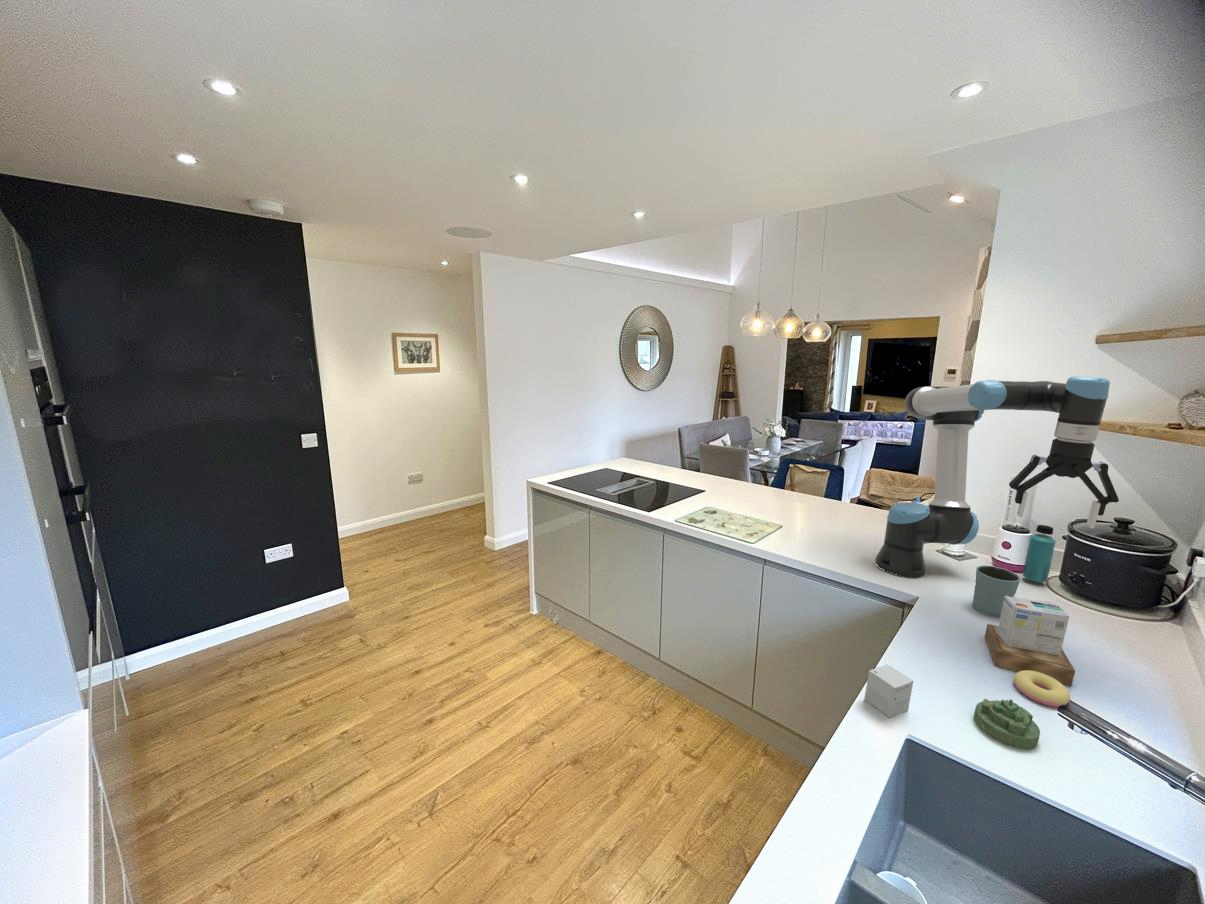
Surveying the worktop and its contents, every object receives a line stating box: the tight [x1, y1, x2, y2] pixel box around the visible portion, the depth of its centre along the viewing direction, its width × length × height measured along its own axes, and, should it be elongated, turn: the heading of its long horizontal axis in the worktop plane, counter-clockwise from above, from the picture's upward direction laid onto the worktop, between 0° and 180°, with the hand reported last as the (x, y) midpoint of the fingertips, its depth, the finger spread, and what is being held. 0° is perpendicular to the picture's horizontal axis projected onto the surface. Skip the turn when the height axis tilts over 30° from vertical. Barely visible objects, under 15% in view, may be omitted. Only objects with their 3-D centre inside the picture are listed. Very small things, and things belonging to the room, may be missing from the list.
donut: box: [1013, 670, 1071, 708], centre depth 107 cm, size 10×5×9 cm
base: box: [984, 623, 1076, 687], centre depth 118 cm, size 14×14×4 cm
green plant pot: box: [972, 564, 1021, 618], centre depth 141 cm, size 10×10×12 cm
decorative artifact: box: [973, 698, 1041, 751], centre depth 96 cm, size 10×7×10 cm
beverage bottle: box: [1022, 524, 1057, 583], centre depth 159 cm, size 6×7×20 cm
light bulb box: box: [997, 596, 1070, 656], centre depth 117 cm, size 11×7×11 cm, turn 70°
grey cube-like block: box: [864, 664, 914, 718], centre depth 102 cm, size 6×6×7 cm
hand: (1053, 521), depth 122 cm, fingers open, 13 cm apart
